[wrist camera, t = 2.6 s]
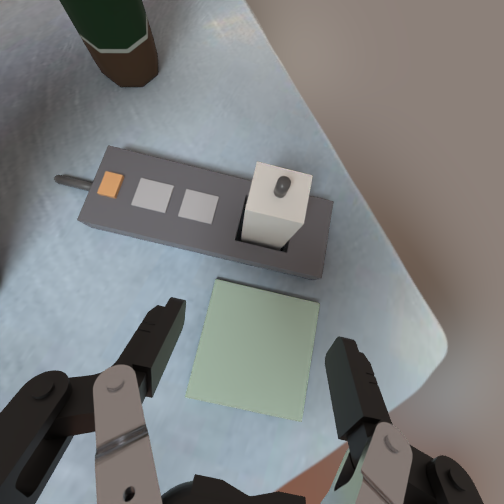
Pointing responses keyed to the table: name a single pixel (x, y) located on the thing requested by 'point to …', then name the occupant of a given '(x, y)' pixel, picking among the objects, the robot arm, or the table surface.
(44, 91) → the table surface
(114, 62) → the beer bottle
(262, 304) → the mat
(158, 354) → the robot arm
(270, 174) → the block
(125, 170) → the power strip
